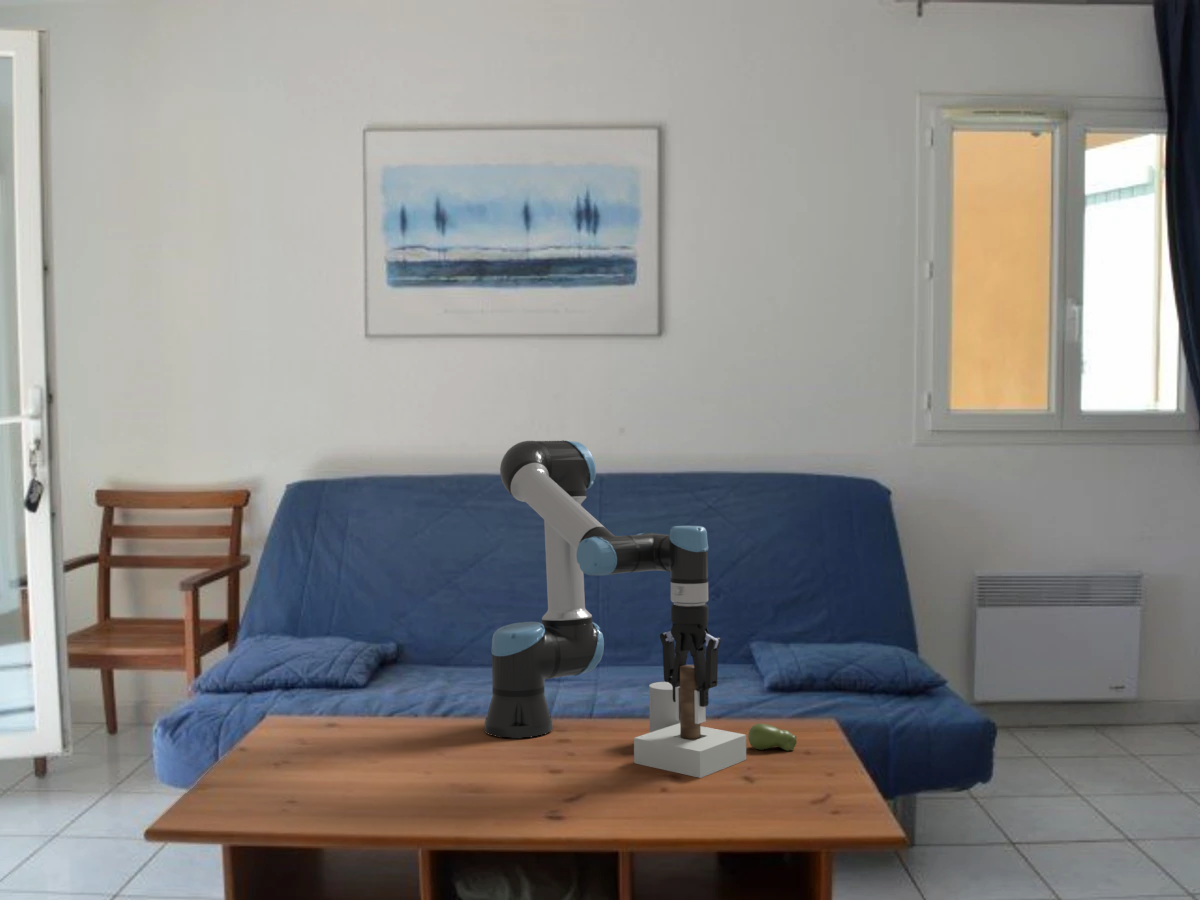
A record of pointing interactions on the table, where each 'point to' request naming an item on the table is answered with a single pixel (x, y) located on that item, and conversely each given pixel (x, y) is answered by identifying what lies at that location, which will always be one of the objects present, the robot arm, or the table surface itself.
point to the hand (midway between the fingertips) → (690, 720)
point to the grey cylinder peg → (661, 706)
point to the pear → (770, 737)
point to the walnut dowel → (688, 703)
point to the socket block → (690, 750)
